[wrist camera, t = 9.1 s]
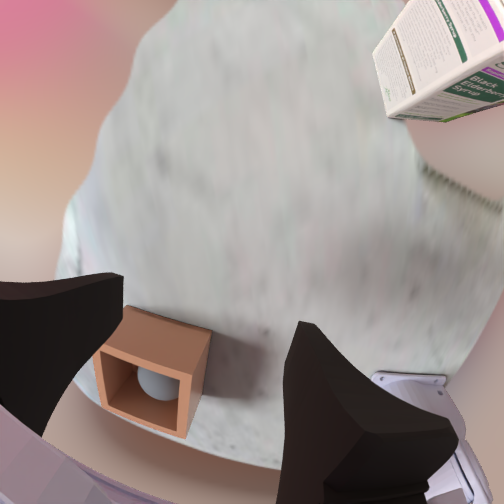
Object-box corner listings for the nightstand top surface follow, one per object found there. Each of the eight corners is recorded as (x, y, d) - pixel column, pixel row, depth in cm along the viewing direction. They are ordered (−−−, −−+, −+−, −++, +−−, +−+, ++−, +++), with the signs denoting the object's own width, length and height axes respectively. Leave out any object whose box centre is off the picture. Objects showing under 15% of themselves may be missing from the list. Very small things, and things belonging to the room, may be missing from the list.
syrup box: (385, 119, 17) (526, 52, 3) (368, 51, 15) (454, -65, 1) (445, 123, 16) (584, 93, 2) (428, 58, 15) (535, -14, 1)
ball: (188, 339, 23) (196, 374, 19) (184, 376, 24) (192, 410, 20) (137, 337, 21) (136, 372, 17) (138, 374, 22) (139, 410, 18)
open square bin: (212, 330, 22) (192, 375, 16) (201, 395, 24) (185, 439, 19) (126, 304, 23) (90, 337, 17) (128, 370, 25) (101, 407, 19)
